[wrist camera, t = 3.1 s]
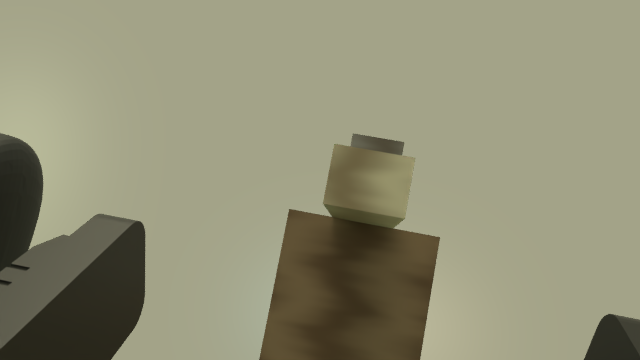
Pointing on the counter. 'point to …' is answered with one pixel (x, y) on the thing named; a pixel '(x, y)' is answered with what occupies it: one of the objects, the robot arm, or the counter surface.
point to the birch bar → (369, 181)
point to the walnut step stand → (349, 291)
